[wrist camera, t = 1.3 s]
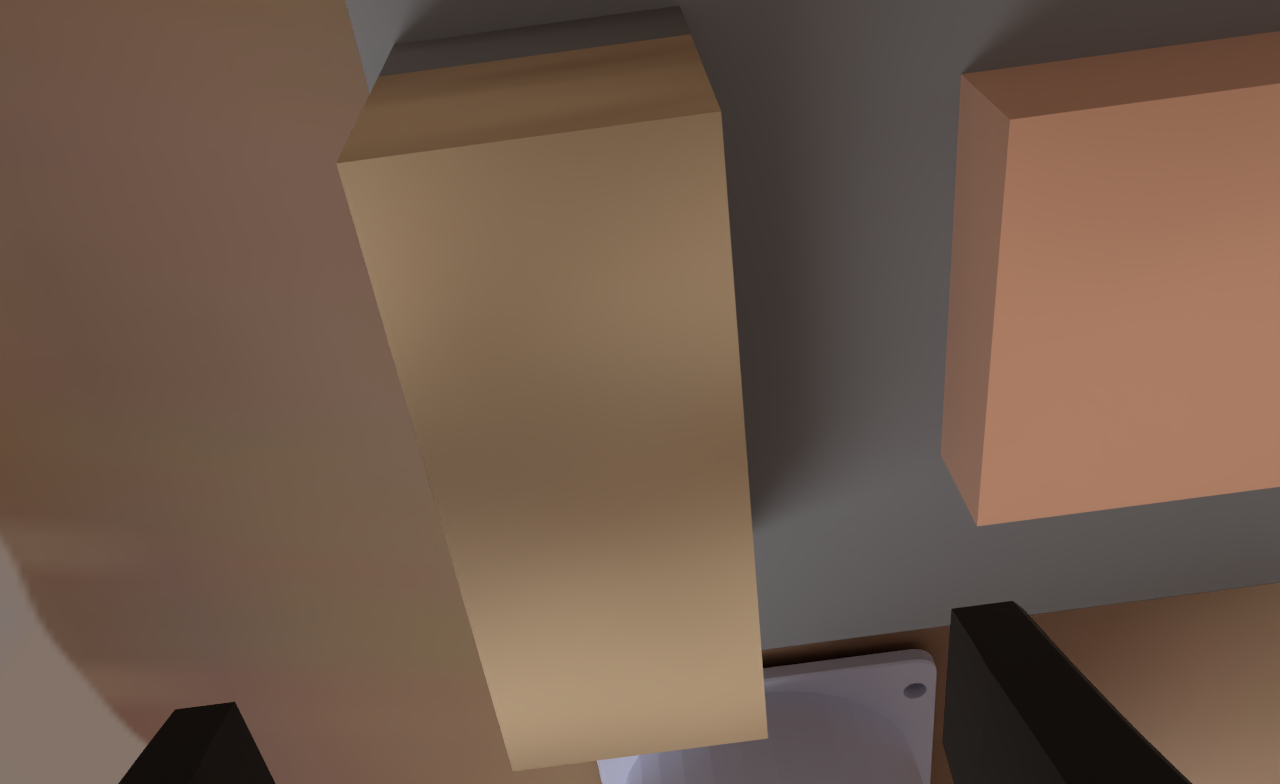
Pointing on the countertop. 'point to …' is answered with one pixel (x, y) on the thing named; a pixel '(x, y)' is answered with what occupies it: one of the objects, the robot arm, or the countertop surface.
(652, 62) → the block
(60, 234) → the countertop surface
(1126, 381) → the tile
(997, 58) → the board
